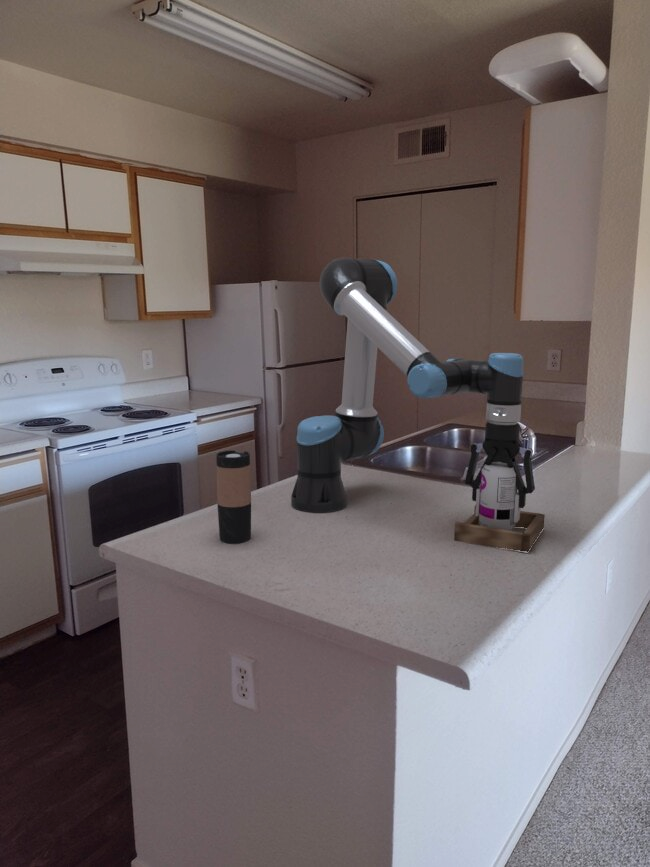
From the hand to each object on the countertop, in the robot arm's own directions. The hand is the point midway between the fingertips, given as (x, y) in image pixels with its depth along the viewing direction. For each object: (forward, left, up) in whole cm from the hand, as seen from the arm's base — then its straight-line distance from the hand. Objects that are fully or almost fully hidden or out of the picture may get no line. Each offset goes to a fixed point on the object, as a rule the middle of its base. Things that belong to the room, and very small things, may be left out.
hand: (497, 517), depth 151 cm
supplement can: (0, 0, -2) cm, 2 cm away
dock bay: (+1, 0, -4) cm, 4 cm away
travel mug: (-52, -32, -4) cm, 61 cm away
